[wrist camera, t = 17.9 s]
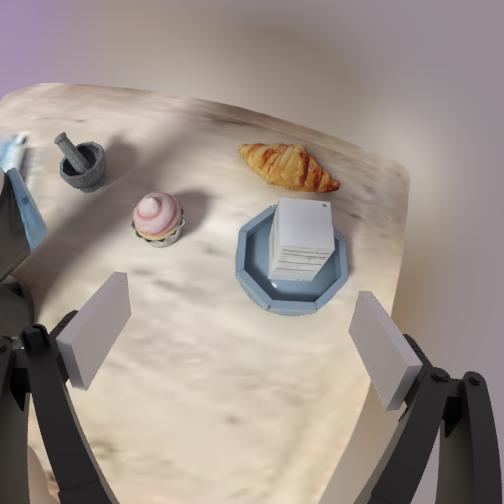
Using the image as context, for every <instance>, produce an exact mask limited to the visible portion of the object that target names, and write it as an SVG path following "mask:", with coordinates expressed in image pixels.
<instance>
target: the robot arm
mask: <svg viewBox="0 0 504 504" xmlns="http://www.w3.org/2000/svg"><path fill="white" fill-rule="evenodd" d="M46 232H47V228H46V225H45V222H44V220H43V218H42V216H41V214H40V212H39V210H38V208H37V206H36V204H35V202H34V200H33V198H32V196H31V194H30V192H29V190H28V188H27V186H26V184H25V182H24V180H23V179H22V177H21V175H20V173H19V171H18V170H17V169H16V168H12V169H10V170H8V171H7V172H6V173H5V172H4V171H3V170H2V168H1V167H0V504H30V499H29V487H28V470H27V433H28V413H29V401H30V393H32V398H33V403H34V407H35V412H36V416H37V420H38V424H39V428H40V432H41V435H42V439H43V442H44V446H45V449H46V452H47V455H48V458H49V461H50V464H51V467H52V470H53V473H54V476H55V478H56V481H57V484H58V486H59V489H60V491H59V492H58V497H59V500H60V502H61V504H120V503H119V502H118V500H117V498H116V497H115V495H114V493H113V491H112V490H111V488H110V486H109V484H108V482H107V481H106V479H105V477H104V475H103V473H102V471H101V469H100V467H99V465H98V463H97V461H96V459H95V457H94V455H93V453H92V450H91V448H90V446H89V444H88V442H87V439H86V437H85V435H84V432H83V430H82V427H81V425H80V423H79V420H78V417H77V415H76V412H75V410H74V407H73V404H72V401H71V398H70V396H69V393H68V390H67V387H66V384H65V383H66V382H67V380H68V379H69V380H70V382H71V385H72V387H74V388H77V389H80V390H84V391H87V389H88V388H89V386H90V384H91V382H92V380H93V379H94V377H95V375H96V373H97V371H98V370H99V368H100V366H101V364H102V363H103V361H104V359H105V357H106V356H107V354H108V352H109V351H110V349H111V347H112V346H113V344H114V342H115V340H116V339H117V337H118V335H119V334H120V332H121V331H122V329H123V327H124V326H125V324H126V322H127V321H128V319H129V317H130V316H131V310H130V301H129V291H128V281H127V273H122V272H114V273H113V274H112V275H111V276H110V277H109V278H108V279H107V281H106V282H105V283H104V284H103V285H102V286H101V287H100V288H99V289H98V290H97V291H96V293H95V294H94V295H93V296H92V297H91V298H90V299H89V300H88V301H87V303H86V304H85V305H84V306H83V307H82V308H81V309H80V310H79V311H77V310H73V311H72V312H70V313H68V314H66V316H65V317H64V318H63V319H62V320H61V321H60V322H59V323H58V324H57V326H56V327H55V328H54V329H53V330H52V331H51V332H50V334H49V335H48V333H47V329H46V328H45V326H43V325H42V324H33V315H34V309H33V301H32V297H31V294H30V292H29V290H28V288H27V287H26V286H25V284H24V283H22V282H21V281H19V280H18V279H16V278H15V277H13V276H10V275H9V274H10V273H11V272H12V271H13V270H14V269H15V268H16V267H17V266H18V265H19V264H20V263H21V262H22V261H24V260H25V259H26V258H27V257H28V256H29V255H30V254H32V253H33V251H34V249H35V248H36V247H37V246H38V245H39V244H40V243H41V242H42V241H43V240H44V238H45V236H46ZM349 333H350V335H351V337H352V339H353V342H354V344H355V346H356V348H357V350H358V352H359V354H360V356H361V359H362V361H363V363H364V365H365V367H366V370H367V372H368V374H369V376H370V378H371V381H372V383H373V385H374V387H375V390H376V392H377V394H378V396H379V399H380V401H381V403H382V406H383V408H384V410H385V411H391V410H398V409H399V408H400V407H401V405H402V403H403V401H405V403H406V405H407V408H406V409H405V411H404V413H403V414H402V416H401V417H400V419H399V421H398V422H399V424H398V426H397V428H396V430H395V432H394V434H393V437H392V438H391V440H390V442H389V444H388V446H387V448H386V450H385V452H384V454H383V456H382V457H381V459H380V461H379V463H378V465H377V466H376V468H375V470H374V471H373V473H372V475H371V477H370V478H369V480H368V482H367V483H366V485H365V486H364V488H363V490H362V491H361V493H360V494H359V496H358V497H357V499H356V500H355V502H354V503H353V504H410V503H411V501H412V498H413V496H414V494H415V492H416V490H417V487H418V485H419V483H420V480H421V477H422V475H423V473H424V470H425V468H426V465H427V462H428V459H429V457H430V454H431V451H432V448H433V445H434V442H435V439H436V436H437V433H438V429H439V426H440V452H439V471H438V483H437V493H436V502H435V504H502V483H501V469H500V458H499V449H498V442H497V435H496V429H495V423H494V417H493V412H492V407H491V402H490V397H489V393H488V389H487V385H486V381H485V379H484V378H483V377H482V376H481V375H480V374H479V373H476V372H471V371H469V372H466V373H465V375H464V376H463V378H462V380H461V379H452V378H450V376H449V374H448V373H447V372H446V371H445V370H443V369H441V368H437V367H433V366H432V365H431V363H430V362H429V360H428V359H427V357H426V356H425V355H424V353H423V352H422V350H421V349H420V348H419V347H418V345H417V343H416V342H415V340H414V339H412V338H411V337H410V336H409V335H407V334H402V333H401V332H400V330H399V329H398V328H397V326H396V325H395V323H394V322H393V321H392V319H391V318H390V316H389V315H388V314H387V312H386V311H385V310H384V308H383V307H382V305H381V304H380V303H379V301H378V300H377V299H376V297H375V296H374V295H373V293H372V292H369V291H359V295H358V299H357V303H356V306H355V310H354V314H353V317H352V321H351V324H350V328H349ZM22 346H23V347H24V349H20V348H21V347H22Z"/></svg>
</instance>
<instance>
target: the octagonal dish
mask: <svg viewBox="0 0 504 504" xmlns="http://www.w3.org/2000/svg"><path fill="white" fill-rule="evenodd" d="M276 208H277V205H274V206H273V207H272V206H270V207H269V208H267V209H266V210H264V211H263V212H262V213H260V214H259V215H258V216H256V217H255V218H253V219H252V220H251V221H249V222H248V223H247V224H245V225H244V226H242V227H241V228H240V230H239V237H238V248H237V252H236V275H235V276H236V279H237V280H238V281H239V282H240V284H241V286H242V287H243V289H244V291H245V292H246V293H247V295H248V296H249V297H250V298H251V299H252V300H253V301H254V302H255V303H256V304H258V305H259V306H261V307H262V308H264V309H265V310H268V312H273V313H276V314H280V315H286V316H299V315H304V314H313V313H315V312H316V311H318V310H319V309H320V308H321V307H322V306H323V305H325V304H326V303H327V302H328V301H329V300H330V299H331V298H332V297H333V296H334V294H335V293H336V292H337V291H338V290H339V289H340V288H341V287H342V286H343V285H344V284H345V283H346V282H347V279H348V266H347V253H346V242H345V240H343V238H344V237H343V236H342V235H341V234H340V233H339V232H338V231H337V230H336V229H335V228H334V227H333V231H334V242H335V250H334V252H333V253H332V254H331V256H330V257H329V258H328V260H327V261H326V262H325V264H324V265H323V267H322V268H321V269H320V271H319V272H318V273H317V274H316V276H315V277H314V278H313V280H312V281H291V280H274V279H268V264H269V236H270V232H271V228H272V224H273V220H274V216H275V212H276Z"/></svg>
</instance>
